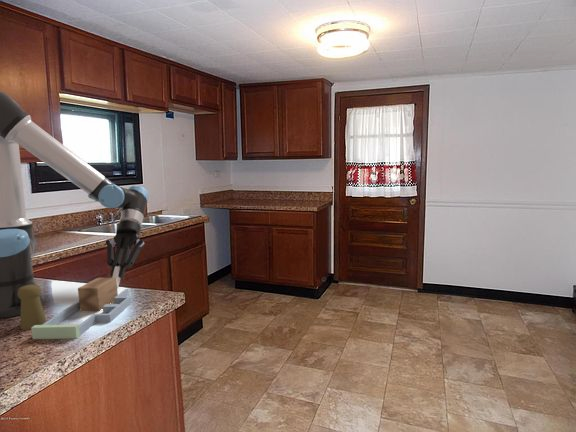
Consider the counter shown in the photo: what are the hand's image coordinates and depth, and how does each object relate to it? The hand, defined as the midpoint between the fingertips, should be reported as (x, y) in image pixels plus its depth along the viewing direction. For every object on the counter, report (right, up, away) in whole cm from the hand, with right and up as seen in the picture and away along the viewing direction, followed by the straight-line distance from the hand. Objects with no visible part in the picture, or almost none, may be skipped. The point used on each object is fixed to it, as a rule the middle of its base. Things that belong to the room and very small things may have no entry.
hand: (114, 286), depth 123 cm
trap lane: (0, -6, -13) cm, 14 cm away
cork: (-13, -7, -19) cm, 24 cm away
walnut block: (-2, -5, -6) cm, 7 cm away
